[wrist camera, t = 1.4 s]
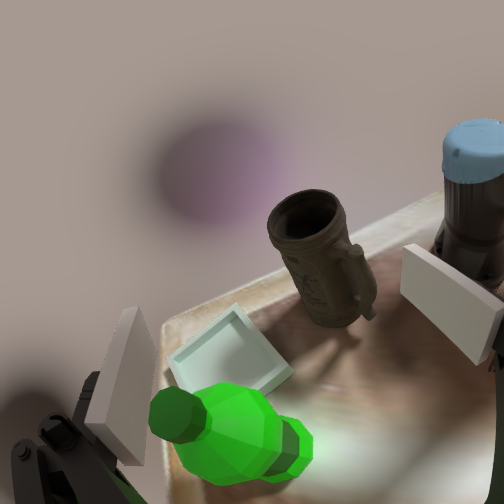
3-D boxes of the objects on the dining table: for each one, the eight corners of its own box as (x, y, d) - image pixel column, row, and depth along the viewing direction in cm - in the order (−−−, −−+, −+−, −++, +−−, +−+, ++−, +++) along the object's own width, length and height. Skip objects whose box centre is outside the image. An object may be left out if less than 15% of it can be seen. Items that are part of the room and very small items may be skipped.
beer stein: (291, 309, 50) (246, 230, 37) (327, 265, 53) (297, 178, 40) (364, 353, 40) (351, 278, 26) (399, 298, 43) (399, 206, 29)
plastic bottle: (320, 414, 36) (237, 342, 20) (320, 484, 28) (223, 492, 12) (255, 419, 39) (136, 352, 23) (250, 483, 32) (111, 465, 16)
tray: (243, 310, 55) (235, 302, 53) (295, 371, 42) (288, 365, 40) (175, 364, 53) (166, 358, 51) (211, 434, 40) (200, 431, 38)
